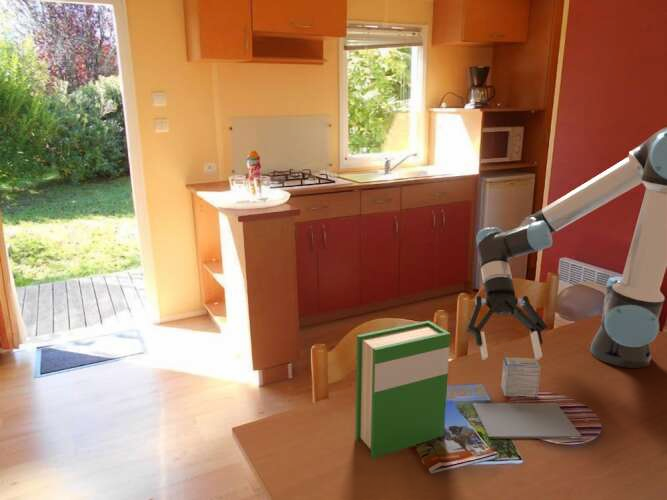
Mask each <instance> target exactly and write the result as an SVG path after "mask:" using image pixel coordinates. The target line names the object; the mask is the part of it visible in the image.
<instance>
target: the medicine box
mask: <svg viewBox="0 0 667 500" xmlns="http://www.w3.org/2000/svg"><path fill="white" fill-rule="evenodd" d="M541 368H542V367H541V366H540V364H539V362H538V361H537V360H536V359H535V358H530V357H529V358H528V357H506V356H505V357H504V358H503V362H502V373H501V383H500V384H501V386H500V387H501V389H502V390H501V391H502V393H503V395H504V397H513V398H515V397H516V398H517V396H526V397H525V398H535V397H537V398H538V394H539V384H540V376H541Z"/></svg>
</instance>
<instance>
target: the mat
mask: <svg viewBox="0 0 667 500" xmlns="http://www.w3.org/2000/svg"><path fill="white" fill-rule="evenodd" d="M473 406H474V407H473ZM472 407H473V409H474V408H475V409H474V411H475V414H476V416H477V415H478V416H477V417H479V418H478V419H480V420H479V421H481V422H480V424H481V423H482V424H481V426H482V425H483V426H482V428H483V427H484V428H483V430H484V429H485V430H484V432H485V431H486V432H485V434H486V433H487V434H486V436H487V435H488V436H487V438H488V437H496V438H495V439H498V438H497V437H500V438H499V439H572V438H571V437H583V436H582V435H581V433H580V432H579V431H578V429H577V428H576V427H575V425H574V424H573V423H572V422H571V420H570V419H569V417H568V416H567V414H566V413H564V411H563V410H562V409H561V407H560V406H559V405H558V404H557V402H544V403H543V402H530V403H529V402H526V403H525V402H500V403H499V402H496V403H495V402H494V403H493V402H487V403H486V402H485V403H484V402H483V403H482V402H473V403H472ZM565 437H566V438H565Z"/></svg>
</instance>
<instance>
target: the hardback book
mask: <svg viewBox="0 0 667 500" xmlns="http://www.w3.org/2000/svg"><path fill="white" fill-rule="evenodd" d="M450 343H451V332H449V331H448V330H446V329H444V328H442V327H440V326H439V325H437V324H436V323H433V322H432V321H430V320H425V321H424V320H423V321H420V322H416V323H411V324H406V325H401V326H397V327H392V328H386V329H381V330H377V331H376V330H375V331H371V332H366V333H362V334H357V335H356V366H355V367H356V368H355V369H356V371H355V372H356V373H355V374H356V376H355V378H356V379H355V380H356V381H355V383H356V384H355V434H354V435H355V440H356V441H357V442H359V441H362V442H363V443H364V444H365V445H366V446H367V447H368V448H369V450H370V454H369V455H370V458H371V459H373V460H374V459H376V458H377V459H378V458H380V457H382V456H386V455H390V454H394V453H395V452H398V451H401V450H405V449H409V448H411V447H415V446H417V445H416V444H418V445H420V444H419V443H421V444H423V443H422V442H424V443H426V441H427V442H429V441H428V440H430V441H433V440H436V439H438V438H437V437H439V436H442V435H444V436H445V422H446V421H445V420H446V404H447V391H448V376H449V375H448V374H449V360H450V359H449V358H450V345H451V344H450ZM442 437H443V436H442ZM435 438H436V439H435ZM439 438H440V437H439ZM432 439H433V440H432Z"/></svg>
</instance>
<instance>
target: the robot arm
mask: <svg viewBox="0 0 667 500" xmlns="http://www.w3.org/2000/svg"><path fill="white" fill-rule="evenodd" d="M640 184H642V185H643V186H644V187H645V192H644V196H643V200H642V203H641V207H640V211H639V214H638V218H637V221H636V224H635V229H634V232H633V236H632V239H631V244H630V247H629V250H628V253H627V258H626V262H625V265H624V268H623V273H622V276H612V277H609V278H608V280H607V283H606V285H605V294H604V295H605V296H604V300H603V306H602V307H603V308H602V315H601V320H600V321H601V322H600V327H599V329H598V330H597V332H596V334H595V336H594V338H593V339H592V340H591V345H590V349H589V350H590V353H591V355H593V357H594V358H596V359H598V360H600V361H601V362H604V363H606V364H609V365H612V366H615V367H616V366H617V367H620V368H621V367H622V368H627V369H628V368H629V369H641V368H644V367H647V366H649V365H650V364H651V358H652V352H651V348H650V343H652V342H653V341H654V340H655V339H656V338H657V336H658V333H659V331H660V321H659V318H660V315H661V312H662V308H663V305H664V302H665V298H666V297H665V296H664V294H663V293H662V292H661V286H662V283H663V280H664V276H665V273H666V270H667V126H666V127H663V128H662V129H660V130H658V131H657V132H655V133H653V135H650V137H649V138H648V139H646V140H645V141H643V142H642V143H640V144H639V145H638V146H636V147H635V148H633V149H631V150H630V151H629V153H628V156H627V157H625V158H624V159H622V160H621V161H619V162H617V163H616V164H614V165H613V166H611V167H609V168H608V169H606V170H604V171H603V172H601V173H599V174H598V175H596V176H594V177H593V178H591V179H590V180H588V181H586V182H585V183H583V184H581V185H579V186H577V187H576V188H575V189H573V190H571V191H569V192H568V193H567V194H565V195H563V196H562V197H560V198H558V199H557V200H554V201H553V202H552V203H550V204H548V205H546V206H544V207H543V208H541V210H538V211H537V212H535V213H533V214H530V215H528V216H526V217H525V218H523V219H522V221H521V222H520V225H519V226H518V227H516V228H512V229H510V230H506V231H503V230H502V229H501V228H499V227H496V226H492V227H486V228H482V229H481V230H479V231H478V233H477V234H476V237H475V241H476V250H477V254H478V259H479V265H480V271H481V272H480V273H481V277H482V282H483V288H484V293H485V298H483V297H481V296H480V295H477V296H476V298H475V299H474V308H473V310H472V314H471V317H470V319H469V322H468V324H467V327H466V332H467V333H472V335H473V336H474V339H475V345H476V346H477V347H479V349H480V356H481V360H483V361H485V360H487V358H488V357H489V353H488V349H487V348H488V347H487V341H486V336H485V331H482V329H483V327H485V325H486V324H487V322H488V321H489V320H490V318H491V317H492V315H493V314H495V315H497V316H500V315H501V316H502V315H504V316H509V315H511V316H512V317H514V318H516V320H518V321H519V322H520V323H521V324H522V325H523V326H524V327H526V328H527V330H529V331H530V332H531V334H530V339H531V344H532V349H533V353H534V359H536V360H540V359H541V358H542V357H543V353H542V348H541V346H542V345H543V344H544V343H543V337H542V333H543V332H544V331H546V330H547V328H548V326H547V324H546V323H545V322H544V320H543V318H542V317H541V316H540V315H539V314H538V312H537V311H536V309H535V308H534V307H533V306H532V304H531V303H530V299H529V296H528V295H527V296H526V295H524V296H523V297H517V296H516V294H515V293H516V292H515V288H514V282H513V280H512V279H513V277H512V272H511V267H510V262H509V260H510V259H514V258H518V257H520V256H524V255H525V256H526V255H528V254H531V253H535V252H541V251H543V250H544V249H547V248H551V246H552V245H553V242H554V241H553V236H552V235H553V234H555V233H556V232H558V231H559V230H561V229H563V228H565V227H566V226H569V225H570V224H572V223H574V222H575V221H577V220H579V219H580V218H583V217H584V216H586V215H588V214H589V213H592V212H593V211H595V210H596V209H598V208H600V207H602V206H604V205H605V204H607V203H610V202H611V201H612V200H614V199H616V198H618V197H619V196H621V195H623V194H624V193H626V192H629V191H630V190H631V189H634V188H635V187H637V186H639V185H640ZM484 304H485V305H486V306H487V308H489V310H487V313H486V314H485V315H484V316H483V318H482V319H481V320H480V322H479V324H478V325H477V326H475V324H476V322H477V319H478V316H479V313H480V311H481V309H482V307H483V306H484ZM517 304H519V305H517ZM520 307H522V309H523V311H524V312H523V311H522V309H521V308H520ZM526 314H527V315H526Z"/></svg>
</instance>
